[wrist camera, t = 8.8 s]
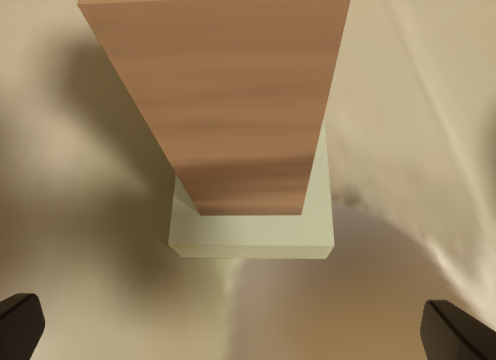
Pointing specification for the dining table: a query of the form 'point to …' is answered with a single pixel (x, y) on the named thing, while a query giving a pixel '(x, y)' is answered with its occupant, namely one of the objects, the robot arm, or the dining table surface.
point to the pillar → (228, 91)
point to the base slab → (258, 224)
